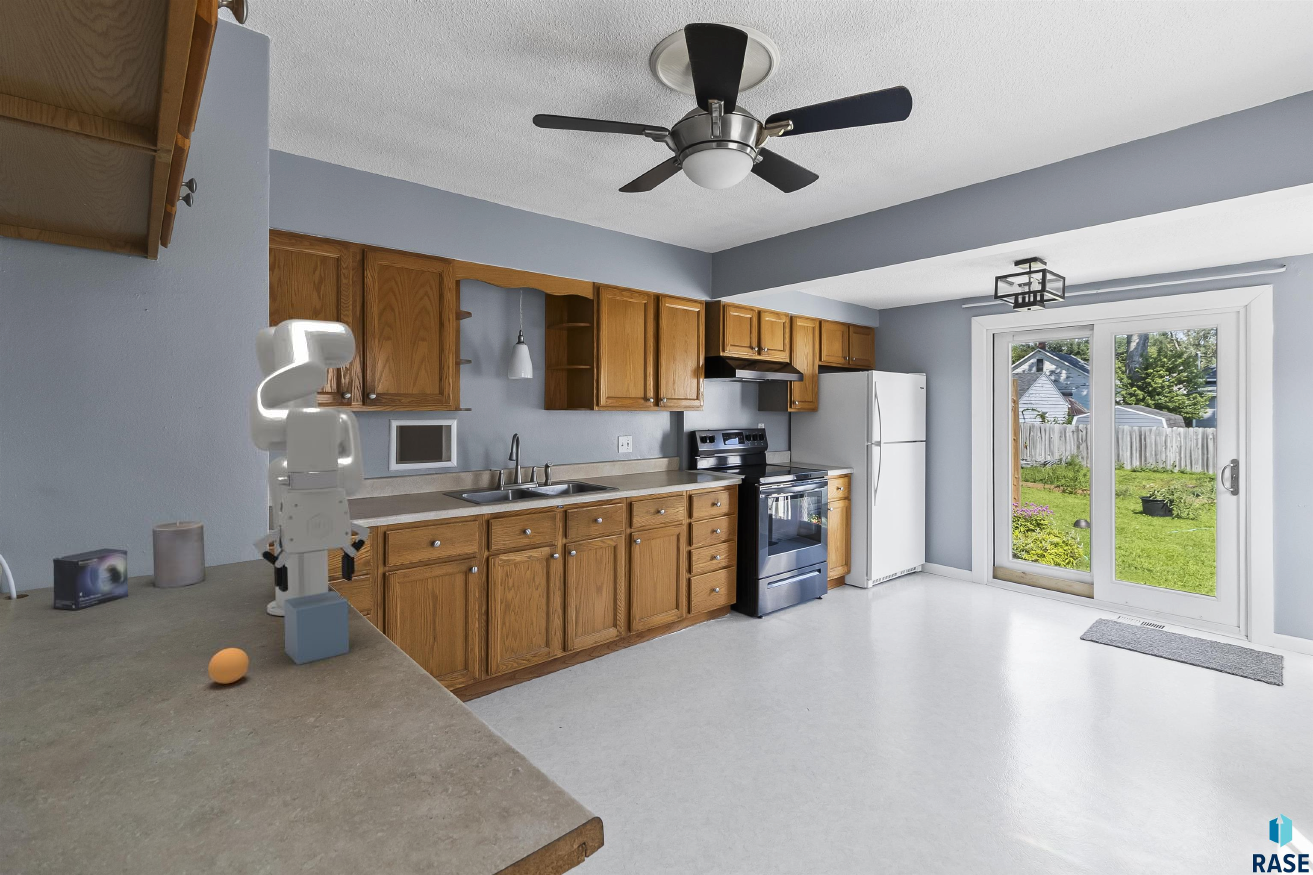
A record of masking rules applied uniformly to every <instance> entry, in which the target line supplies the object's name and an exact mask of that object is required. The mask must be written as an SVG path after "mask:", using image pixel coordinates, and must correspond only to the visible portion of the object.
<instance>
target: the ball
mask: <svg viewBox="0 0 1313 875" xmlns="http://www.w3.org/2000/svg"><path fill="white" fill-rule="evenodd" d="M249 663H250V661H249V657H248V654H247V653H246V652H245V651H244V650H242V649H241V648H236V647H229V648H224V649H222V650H220V651H218V652H217V653H216V654H214V655H213V656H212V658H211V660H210V661H209V664H208V667H207V668H208V674H209V677H210V678H211V679H212V680H213V681H214V682H216V683H218V684H223V685H224V684H226V685H227V684H231V683H234V682H236V681H238V680H240V679H241V678H242V677H244V676H245V674H246V672H247V671H248V668H249Z"/></svg>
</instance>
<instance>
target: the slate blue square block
mask: <svg viewBox="0 0 1313 875" xmlns="http://www.w3.org/2000/svg"><path fill="white" fill-rule="evenodd" d="M284 615H285V616H284V644H285V646H284V647H285V648H284V649H285V650H284V651H285V653H286V654H287V655H288V656H289V658H291V660H292V661H294V663H295V664H296V665H297V666H299V665H304V664H307V663H311V662H315V661H320V660H323V659H327V658H332V657H336V656H339V655H344V654H348V653H350V637H349V636H350V633H349V632H350V631H349V629H350V628H349V627H350V626H349V600H348V599H346V598H345V597H344V596H342V595H341V594H339V593H337V591H334V590H330V591H328V592H325V593H320V594H314V595H308V596H303V597H297V598H292V599H286V600H284Z"/></svg>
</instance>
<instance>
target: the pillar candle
mask: <svg viewBox="0 0 1313 875" xmlns="http://www.w3.org/2000/svg"><path fill="white" fill-rule="evenodd" d="M151 530H152V551H153V552H152V553H153V554H152V555H153V556H152V557H153V576H154V578H153V579H154V580H153V581H154V583H153V584H154V587H155V588H161V589H172V588H180V587H185V586H189V585H195V584H199V583H202V582H204V581H205V579H206V560H205V554H206V553H205V537H204V536H205V535H204V523H203V522H201V521H182V522H181V521H180V519H178V520H177V522H170V523H163V524H158V525H154V526H153V527H152V529H151Z"/></svg>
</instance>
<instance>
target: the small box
mask: <svg viewBox="0 0 1313 875" xmlns="http://www.w3.org/2000/svg"><path fill="white" fill-rule="evenodd" d="M52 563H53V607H52V608H53V609H60V610H68V611H69V610H70V611H79V610H83V609H86V608H91V607H94V606H98V605H102V604H105V603H108V602H112V601H116V600H120V599H124V598H128V597H129V592H128V591H129V588H128V587H129V584H128V582H129V581H128V580H129V579H128V550H126V549H116V548H107V547H106V548H101V549H96V550H95V549H94V550H90V551H85V552H84V551H83V552H80V553H76V554H70V555H65V556H59V557H54V558H52Z"/></svg>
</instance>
